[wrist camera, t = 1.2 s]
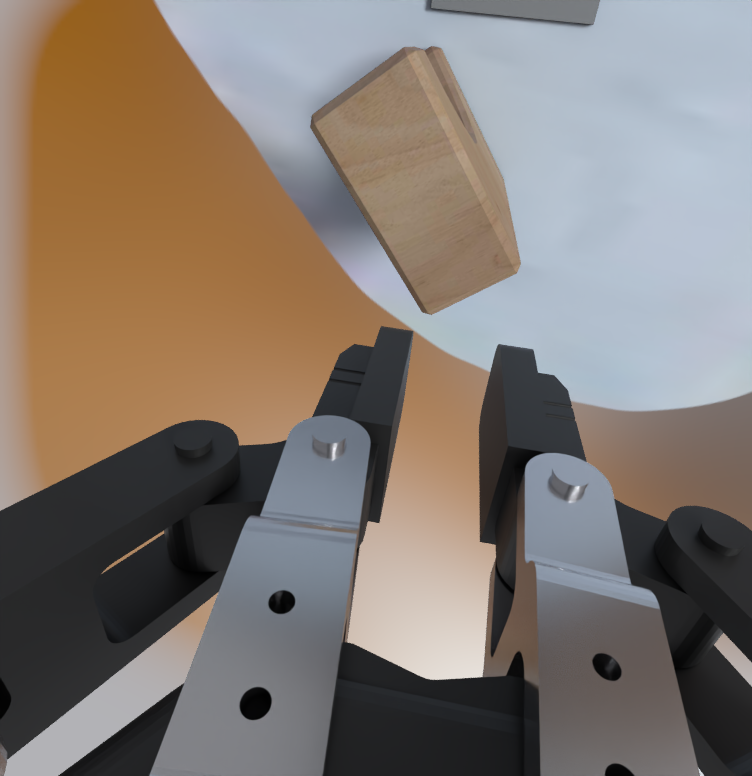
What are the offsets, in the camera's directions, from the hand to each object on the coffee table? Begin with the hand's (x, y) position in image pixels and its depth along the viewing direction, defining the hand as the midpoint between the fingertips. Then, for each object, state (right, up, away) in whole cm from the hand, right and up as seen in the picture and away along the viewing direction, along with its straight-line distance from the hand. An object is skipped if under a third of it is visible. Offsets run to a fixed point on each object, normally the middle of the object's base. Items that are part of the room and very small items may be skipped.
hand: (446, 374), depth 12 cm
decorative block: (+4, +19, +29) cm, 35 cm away
